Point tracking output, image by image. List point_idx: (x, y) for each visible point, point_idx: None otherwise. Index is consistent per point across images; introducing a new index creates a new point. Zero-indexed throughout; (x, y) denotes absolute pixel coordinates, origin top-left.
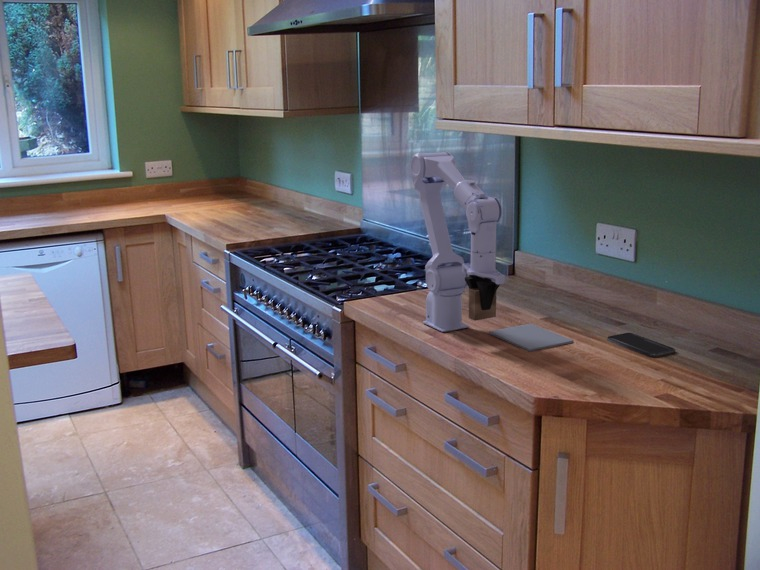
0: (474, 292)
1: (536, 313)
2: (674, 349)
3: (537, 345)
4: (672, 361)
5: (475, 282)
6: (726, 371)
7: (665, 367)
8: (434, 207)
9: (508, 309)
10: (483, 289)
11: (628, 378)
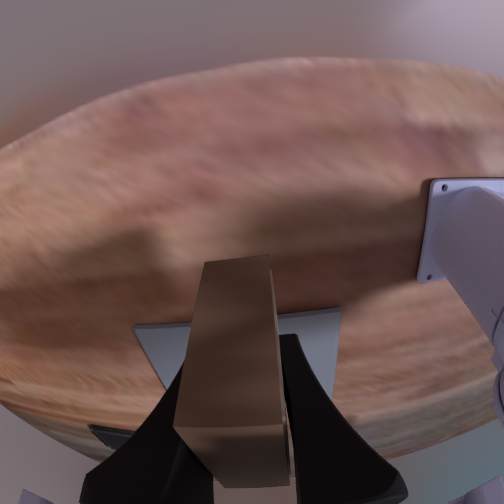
0: (186, 416)
1: (383, 417)
2: (110, 447)
3: (161, 355)
4: (76, 426)
5: (298, 492)
6: (50, 430)
7: (53, 411)
8: None
9: (438, 388)
10: (108, 457)
11: (6, 360)
